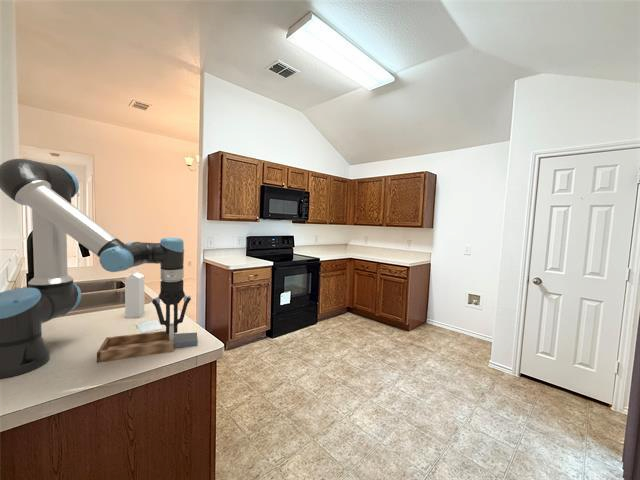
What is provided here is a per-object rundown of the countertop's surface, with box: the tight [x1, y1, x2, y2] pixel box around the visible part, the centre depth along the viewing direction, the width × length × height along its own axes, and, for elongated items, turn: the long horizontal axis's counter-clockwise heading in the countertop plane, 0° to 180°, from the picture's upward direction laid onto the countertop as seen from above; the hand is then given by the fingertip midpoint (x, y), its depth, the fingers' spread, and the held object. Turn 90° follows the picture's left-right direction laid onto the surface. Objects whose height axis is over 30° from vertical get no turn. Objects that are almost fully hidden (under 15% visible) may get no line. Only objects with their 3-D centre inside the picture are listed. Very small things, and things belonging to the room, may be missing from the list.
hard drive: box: [135, 319, 165, 334], centre depth 121 cm, size 2×8×12 cm
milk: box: [124, 269, 145, 319], centre depth 133 cm, size 6×6×22 cm
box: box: [96, 330, 176, 363], centre depth 101 cm, size 22×12×4 cm, turn 115°
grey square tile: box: [173, 332, 198, 350], centre depth 108 cm, size 8×8×2 cm
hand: (171, 341), depth 105 cm, fingers closed
